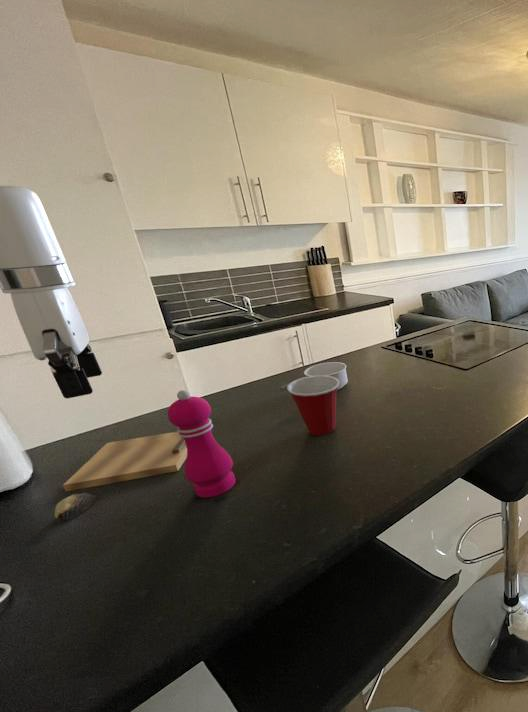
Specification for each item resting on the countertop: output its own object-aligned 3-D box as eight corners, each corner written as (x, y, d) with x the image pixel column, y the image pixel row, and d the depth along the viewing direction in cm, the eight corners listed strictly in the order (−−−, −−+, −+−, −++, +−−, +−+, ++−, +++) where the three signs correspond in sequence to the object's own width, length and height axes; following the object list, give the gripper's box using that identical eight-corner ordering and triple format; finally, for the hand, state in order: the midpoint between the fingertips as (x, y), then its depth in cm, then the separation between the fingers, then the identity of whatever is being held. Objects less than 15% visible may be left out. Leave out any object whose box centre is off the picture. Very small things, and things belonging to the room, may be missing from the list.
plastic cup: (339, 440, 91) (329, 391, 87) (290, 443, 91) (278, 394, 86) (353, 417, 101) (345, 372, 97) (309, 419, 101) (298, 374, 96)
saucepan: (272, 402, 111) (266, 383, 108) (331, 376, 127) (327, 359, 125) (300, 410, 105) (295, 391, 103) (358, 382, 122) (355, 365, 120)
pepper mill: (242, 472, 81) (212, 379, 73) (234, 493, 75) (201, 394, 67) (199, 481, 79) (163, 386, 71) (188, 504, 72) (147, 403, 65)
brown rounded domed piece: (59, 524, 68) (57, 507, 68) (43, 517, 70) (41, 500, 69) (107, 507, 74) (105, 492, 74) (91, 501, 76) (90, 486, 75)
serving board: (65, 491, 77) (60, 481, 76) (109, 448, 91) (105, 439, 90) (178, 471, 82) (174, 461, 81) (203, 433, 96) (200, 424, 95)
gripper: (17, 275, 64) (64, 375, 71) (-25, 290, 51) (38, 411, 58) (82, 270, 68) (121, 365, 75) (58, 282, 55) (108, 397, 62)
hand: (85, 385), depth 66 cm, fingers open, 9 cm apart
